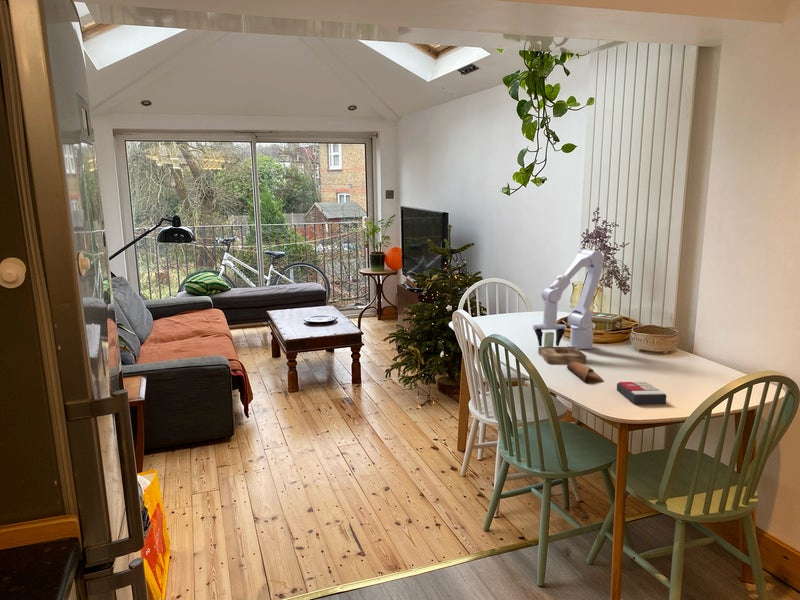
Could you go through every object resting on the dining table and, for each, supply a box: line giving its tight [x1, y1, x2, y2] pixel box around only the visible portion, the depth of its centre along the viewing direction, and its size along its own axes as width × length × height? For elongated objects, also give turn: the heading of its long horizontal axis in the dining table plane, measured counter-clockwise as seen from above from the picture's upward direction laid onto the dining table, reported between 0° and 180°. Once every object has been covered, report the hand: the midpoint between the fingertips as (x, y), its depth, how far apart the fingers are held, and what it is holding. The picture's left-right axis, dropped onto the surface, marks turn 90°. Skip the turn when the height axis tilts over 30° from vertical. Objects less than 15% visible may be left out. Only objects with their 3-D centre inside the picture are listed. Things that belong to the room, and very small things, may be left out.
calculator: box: [616, 381, 667, 406], centre depth 210 cm, size 11×4×15 cm
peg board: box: [537, 346, 587, 364], centre depth 255 cm, size 16×14×3 cm
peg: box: [543, 331, 555, 347], centre depth 267 cm, size 4×4×8 cm
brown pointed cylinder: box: [566, 361, 605, 384], centre depth 233 cm, size 18×7×7 cm
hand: (548, 345), depth 267 cm, fingers open, 7 cm apart
